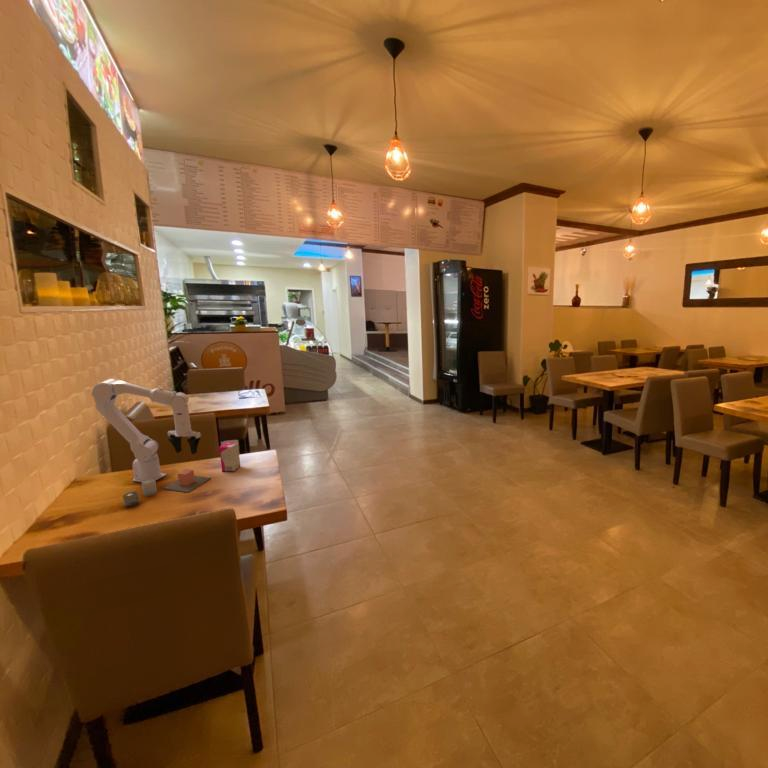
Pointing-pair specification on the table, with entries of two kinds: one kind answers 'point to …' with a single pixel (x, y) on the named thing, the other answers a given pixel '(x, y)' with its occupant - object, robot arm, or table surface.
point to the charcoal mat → (187, 489)
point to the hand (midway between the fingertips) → (186, 452)
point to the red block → (186, 477)
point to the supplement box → (229, 457)
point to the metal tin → (131, 499)
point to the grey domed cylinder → (149, 487)
